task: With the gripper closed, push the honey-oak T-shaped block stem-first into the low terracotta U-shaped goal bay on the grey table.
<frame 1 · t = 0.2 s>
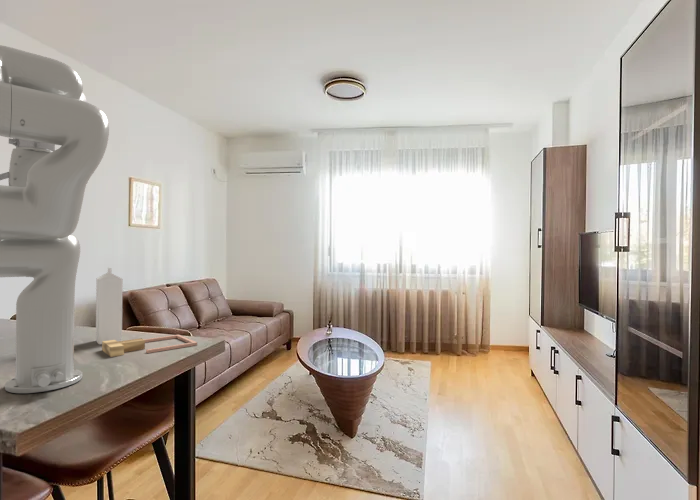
hand: (35, 215, 99), 36 cm above the table, tool pointing down, fingers open, 9 cm apart
milk: (108, 341, 118), on the table
goal bay: (161, 344, 115), on the table
t block: (125, 350, 108), on the table
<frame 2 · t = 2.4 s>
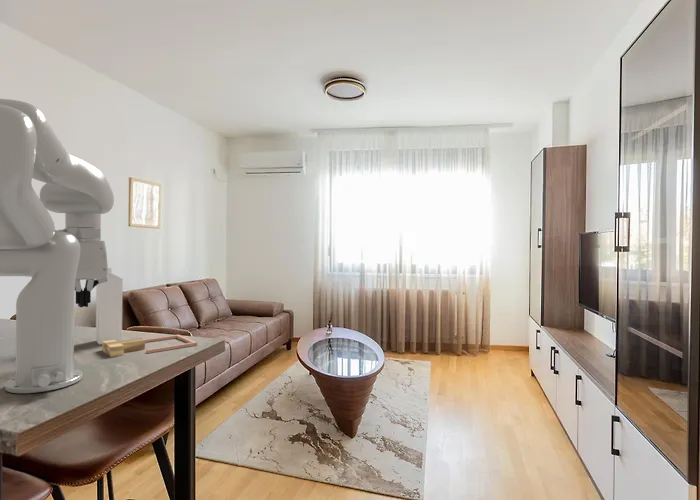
hand: (83, 306, 101), 13 cm above the table, tool pointing down, fingers closed
nothing on the table moved.
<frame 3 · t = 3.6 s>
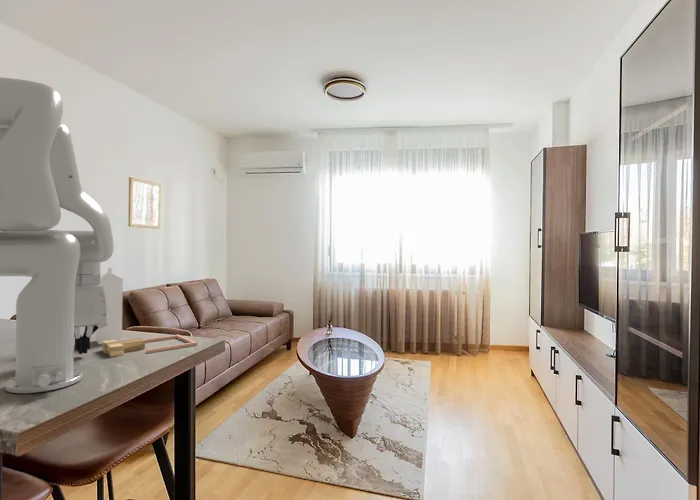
hand: (82, 352, 101), 1 cm above the table, tool pointing down, fingers closed
nothing on the table moved.
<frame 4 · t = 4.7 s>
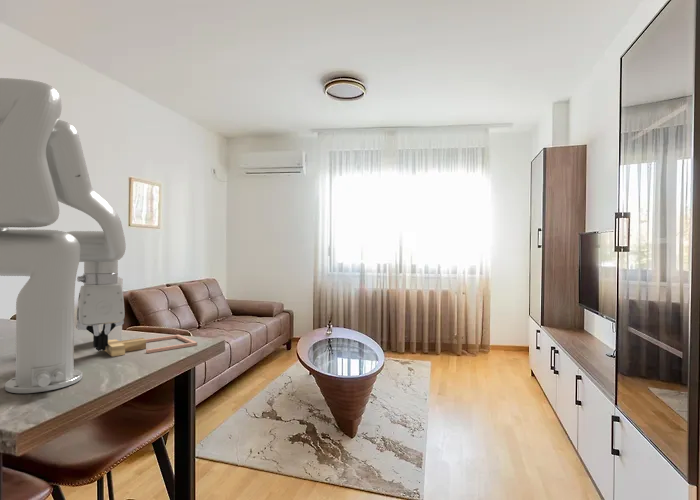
hand: (100, 349, 104), 1 cm above the table, tool pointing down, fingers closed
t block: (126, 350, 108), on the table, touching gripper
everything else where it was.
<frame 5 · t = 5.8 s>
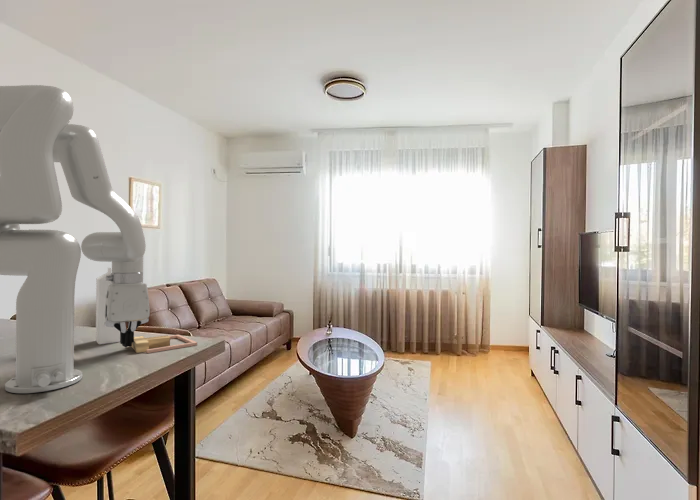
hand: (127, 345, 108), 1 cm above the table, tool pointing down, fingers closed
t block: (151, 347, 112), on the table, touching gripper
everything else where it was.
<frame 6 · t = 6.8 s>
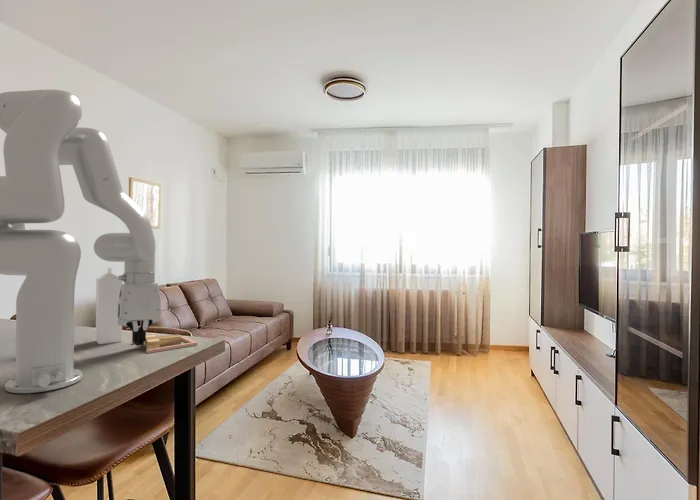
hand: (138, 344, 110), 1 cm above the table, tool pointing down, fingers closed
t block: (163, 345, 114), on the table, touching gripper
everything else where it was.
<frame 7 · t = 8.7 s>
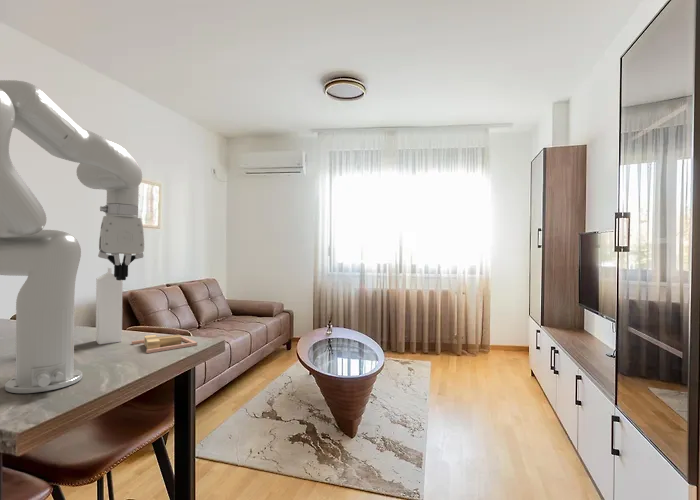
hand: (120, 279, 107), 19 cm above the table, tool pointing down, fingers closed
t block: (163, 345, 114), on the table
everything else where it was.
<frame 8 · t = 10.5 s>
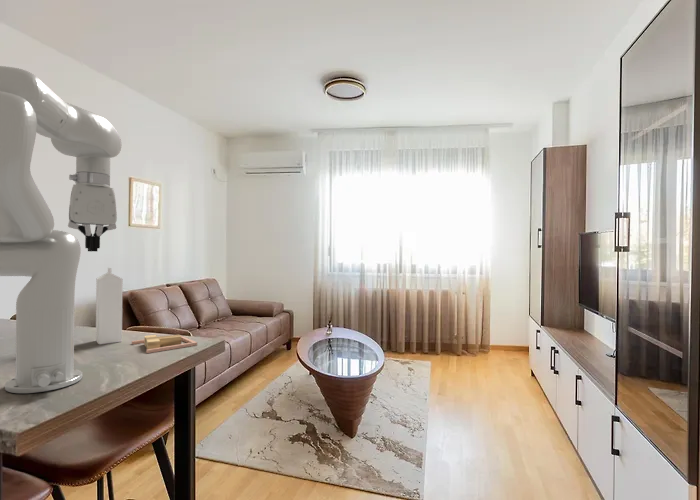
hand: (92, 251, 104), 27 cm above the table, tool pointing down, fingers closed
nothing on the table moved.
at the end: t block 1.2 cm off-centre on the goal bay, point 0.0 cm above the goal bay's base; t block tilted 0°; t block moved 9.7 cm from its start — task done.
